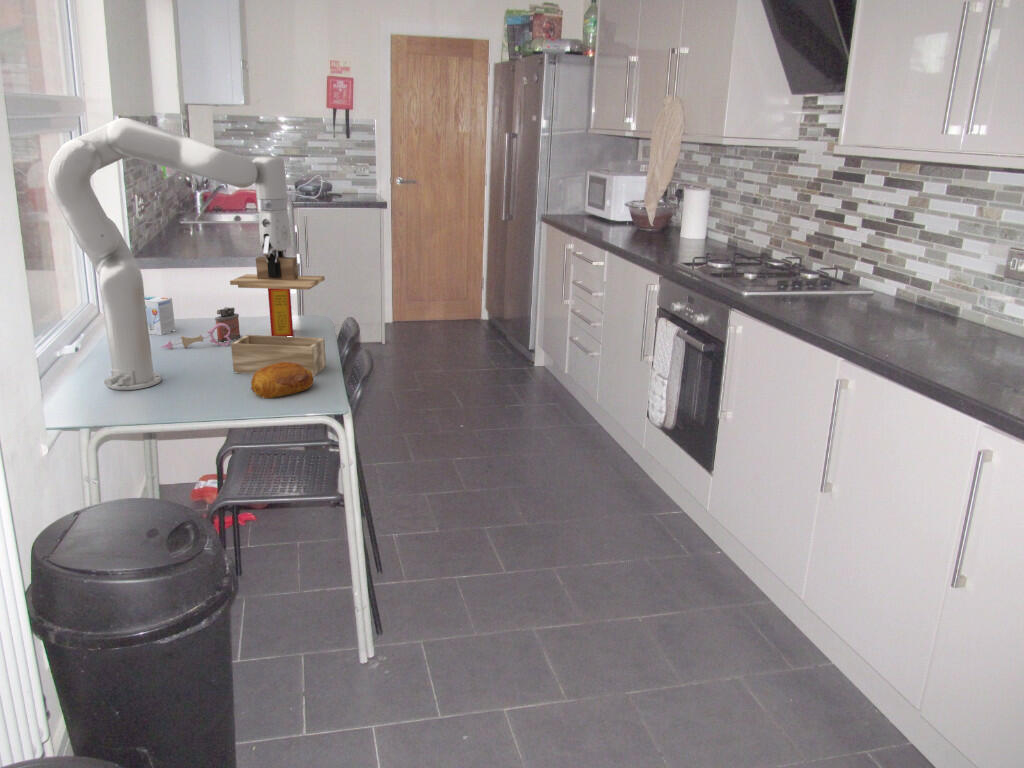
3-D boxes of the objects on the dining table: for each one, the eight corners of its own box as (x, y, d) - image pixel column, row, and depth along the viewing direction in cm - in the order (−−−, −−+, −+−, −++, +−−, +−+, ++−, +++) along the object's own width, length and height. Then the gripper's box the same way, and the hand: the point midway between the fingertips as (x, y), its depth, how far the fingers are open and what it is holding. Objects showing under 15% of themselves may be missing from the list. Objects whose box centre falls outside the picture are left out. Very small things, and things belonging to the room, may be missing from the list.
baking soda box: (271, 330, 262) (267, 281, 257) (292, 329, 264) (288, 280, 259) (271, 337, 254) (267, 286, 249) (293, 336, 255) (289, 286, 251)
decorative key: (164, 358, 241) (233, 342, 246) (164, 359, 240) (233, 344, 245) (157, 336, 238) (227, 321, 244) (157, 337, 237) (227, 322, 243)
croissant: (322, 398, 206) (324, 368, 204) (264, 403, 195) (266, 371, 194) (293, 383, 216) (296, 354, 214) (237, 387, 205) (239, 356, 203)
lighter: (235, 336, 255) (232, 304, 252) (243, 337, 253) (240, 306, 250) (214, 341, 248) (211, 309, 245) (222, 343, 246) (219, 311, 243)
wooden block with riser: (311, 290, 211) (309, 261, 209) (230, 288, 214) (227, 259, 211) (324, 283, 221) (323, 255, 218) (247, 281, 223) (244, 254, 221)
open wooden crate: (314, 376, 216) (312, 347, 213) (233, 373, 218) (231, 344, 215) (325, 366, 225) (324, 338, 223) (249, 362, 227) (246, 334, 225)
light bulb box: (133, 332, 257) (129, 299, 254) (148, 328, 263) (144, 295, 260) (162, 335, 254) (158, 301, 251) (176, 330, 260) (172, 297, 257)
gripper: (273, 209, 203) (279, 282, 208) (297, 203, 218) (302, 271, 224) (244, 208, 203) (250, 281, 209) (270, 202, 219) (276, 270, 224)
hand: (277, 275), depth 216 cm, fingers closed on wooden block with riser, 3 cm apart
